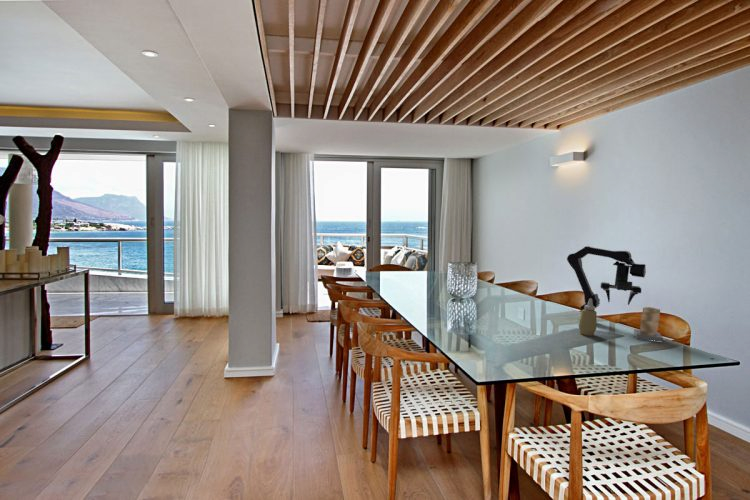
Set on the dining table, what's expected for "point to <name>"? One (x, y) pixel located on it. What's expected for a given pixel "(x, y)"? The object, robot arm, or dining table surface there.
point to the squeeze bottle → (588, 319)
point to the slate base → (647, 336)
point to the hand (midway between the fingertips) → (618, 303)
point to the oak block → (650, 321)
